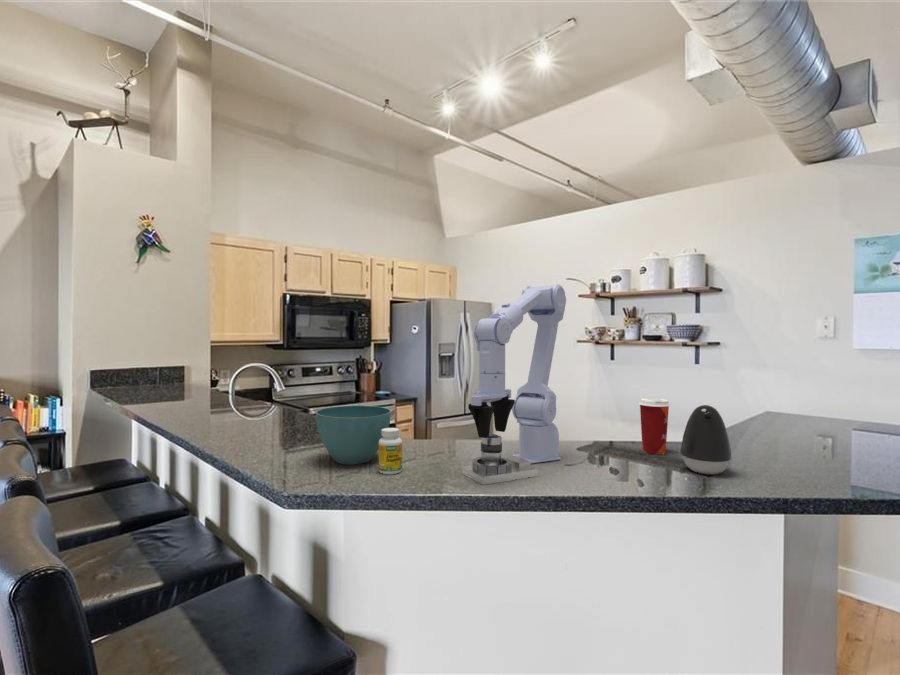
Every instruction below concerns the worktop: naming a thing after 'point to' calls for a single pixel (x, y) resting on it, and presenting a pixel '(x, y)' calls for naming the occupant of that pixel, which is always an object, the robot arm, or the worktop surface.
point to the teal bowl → (352, 431)
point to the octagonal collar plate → (500, 470)
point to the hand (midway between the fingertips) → (492, 434)
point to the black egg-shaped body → (706, 442)
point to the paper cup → (654, 424)
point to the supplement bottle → (390, 451)
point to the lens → (491, 450)
